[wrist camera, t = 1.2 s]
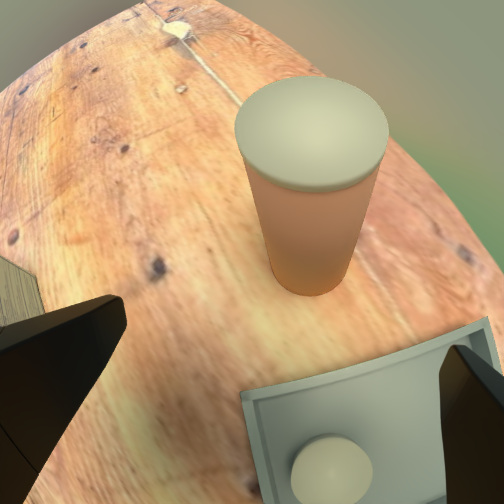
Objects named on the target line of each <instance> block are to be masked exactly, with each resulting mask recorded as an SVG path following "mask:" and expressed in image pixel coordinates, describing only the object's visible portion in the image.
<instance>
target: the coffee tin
mask: <svg viewBox="0 0 504 504" xmlns="http://www.w3.org/2000/svg"><path fill="white" fill-rule="evenodd" d="M235 136H236V140H237V144H238V147H239V150H240V153H241V155H242V157H243V160H244V164H245V168H246V172H247V175H248V179H249V183H250V187H251V190H252V194H253V198H254V202H255V205H256V209H257V213H258V217H259V221H260V224H261V228H262V232H263V236H264V240H265V244H266V247H267V251H268V255H269V259H270V263H271V267H272V270H273V273H274V275H275V277H276V279H277V280H278V281H279V283H280V284H281V285H282V286H283V287H285V288H286V289H287V290H289V291H291V292H293V293H295V294H298V295H302V296H317V295H322V294H325V293H327V292H329V291H331V290H332V289H334V288H335V287H336V286H337V285H338V284H339V283H340V282H341V281H342V279H343V278H344V276H345V274H346V271H347V268H348V266H349V263H350V260H351V257H352V254H353V251H354V248H355V245H356V242H357V239H358V236H359V233H360V230H361V227H362V224H363V221H364V218H365V214H366V211H367V208H368V205H369V201H370V198H371V195H372V191H373V188H374V184H375V181H376V177H377V174H378V170H379V167H380V163H381V161H382V159H383V156H384V153H385V150H386V146H387V142H388V137H389V128H388V123H387V120H386V117H385V115H384V113H383V111H382V110H381V108H380V107H379V106H378V104H377V103H376V102H375V101H374V100H373V99H372V98H371V97H370V96H369V95H367V94H366V93H365V92H363V91H362V90H360V89H358V88H357V87H355V86H352V85H350V84H348V83H345V82H343V81H339V80H336V79H332V78H327V77H319V76H299V77H291V78H286V79H282V80H279V81H276V82H273V83H271V84H268V85H266V86H264V87H262V88H261V89H259V90H258V91H256V92H255V93H253V94H252V95H251V96H250V97H249V98H248V99H247V100H246V101H245V102H244V103H243V105H242V106H241V108H240V109H239V111H238V114H237V116H236V120H235Z"/></svg>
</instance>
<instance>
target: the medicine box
mask: <svg viewBox="0 0 504 504" xmlns="http://www.w3.org/2000/svg"><path fill="white" fill-rule="evenodd" d="M42 314H45V313H44V309H43V306H42V302H41V298H40V295H39V291H38V287H37V283H36V277H35V275H33V274H32V273H30V272H28V271H26V270H25V269H23V268H21V267H20V266H18V265H16V264H14V263H13V262H11V261H10V260H8V259H6V258H5V257H3V256H2V255H0V327H2V326H7V325H9V324H12V323H16V322H19V321H22V320H25V319H29V318H32V317H35V316H39V315H42Z"/></svg>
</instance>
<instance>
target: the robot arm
mask: <svg viewBox="0 0 504 504" xmlns="http://www.w3.org/2000/svg"><path fill="white" fill-rule="evenodd" d="M126 326H127V318H126V313H125V308H124V302H123V300H122V298H121V297H119V296H115V295H111V294H108V295H105V296H101V297H98V298H95V299H91V300H88V301H85V302H81V303H78V304H75V305H72V306H68V307H65V308H62V309H58V310H55V311H52V312H48V313H45V314H42V315H39V316H35V317H32V318H29V319H25V320H22V321H19V322H16V323H12V324H9V325H7V326H2V327H0V504H23V502H24V501H25V499H26V497H27V495H28V493H29V492H30V490H31V488H32V486H33V484H34V483H35V481H36V479H37V477H38V476H39V474H38V473H40V472H41V470H42V468H43V467H44V465H45V463H46V461H47V460H48V458H49V456H50V455H51V453H52V451H53V450H54V448H55V446H56V445H57V443H58V441H59V440H60V438H61V436H62V435H63V433H64V431H65V430H66V428H67V427H68V425H69V423H70V422H71V420H72V418H73V417H74V415H75V414H76V412H77V410H78V409H79V407H80V406H81V404H82V403H83V401H84V399H85V398H86V396H87V395H88V393H89V392H90V390H91V389H92V387H93V386H94V384H95V382H96V381H97V379H98V378H99V376H100V375H101V373H102V372H103V370H104V368H105V367H106V365H107V363H108V361H109V359H110V357H111V356H112V354H113V352H114V350H115V348H116V346H117V344H118V342H119V340H120V339H121V337H122V335H123V333H124V331H125V329H126ZM439 392H440V420H441V433H442V442H443V452H444V463H445V478H446V503H447V504H504V376H503V375H502V374H500V373H499V372H498V371H497V370H496V369H494V368H493V367H492V366H491V365H489V364H488V363H487V362H486V361H485V360H483V359H482V358H481V357H480V356H478V355H477V354H476V353H475V352H474V351H472V350H471V349H470V348H469V347H467V346H466V345H459V344H453V345H451V346H450V347H449V349H448V351H447V354H446V356H445V358H444V361H443V363H442V365H441V367H440V370H439Z"/></svg>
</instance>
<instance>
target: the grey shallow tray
mask: <svg viewBox="0 0 504 504" xmlns="http://www.w3.org/2000/svg"><path fill="white" fill-rule="evenodd" d="M453 344H459V345H466V346H467V347H469V348H470V349H471V350H472V351H474V352H475V353H476V354H477V355H478V356H480V357H481V358H482V359H483V360H485V361H486V362H487V363H488V364H489V365H491V366H492V367H493V368H494V369H496V370H497V371H498V372H499V373H500V374H502V370H501V365H500V361H499V357H498V352H497V348H496V344H495V341H494V337H493V333H492V330H491V326H490V323H489V319H488V316H486V317H484V318H482V319H480V320H478V321H475V322H473V323H471V324H468V325H466V326H464V327H461V328H459V329H456V330H454V331H452V332H449V333H447V334H444V335H442V336H439V337H436V338H434V339H431V340H428V341H426V342H423V343H420V344H418V345H415V346H412V347H409V348H406V349H403V350H401V351H398V352H395V353H392V354H389V355H386V356H382V357H379V358H376V359H373V360H370V361H366V362H363V363H360V364H356V365H353V366H349V367H346V368H342V369H339V370H335V371H331V372H328V373H324V374H320V375H316V376H312V377H308V378H304V379H299V380H295V381H291V382H286V383H282V384H277V385H272V386H267V387H262V388H257V389H252V390H246V391H241V392H240V397H241V402H242V407H243V412H244V416H245V421H246V426H247V431H248V436H249V440H250V445H251V450H252V454H253V459H254V463H255V468H256V472H257V477H258V481H259V486H260V490H261V494H262V498H263V503H264V504H302V503H301V502H300V501H299V500H298V499H297V498H296V496H295V495H294V493H293V490H292V487H291V474H292V466H293V460H294V457H295V455H296V453H297V451H298V450H299V449H300V447H301V446H302V445H303V444H304V443H305V442H307V441H308V440H310V439H312V438H313V437H316V436H318V435H322V434H328V433H335V434H341V435H344V436H346V437H349V438H350V439H352V440H353V441H354V442H355V443H356V444H357V445H358V446H359V447H360V448H361V449H362V450H363V451H364V452H365V453H366V454H367V456H368V457H369V459H370V461H371V464H372V468H373V477H372V481H371V484H370V486H369V488H368V490H367V492H366V493H365V494H364V495H363V497H362V498H361V499H360V500H358V501H357V502H356V503H354V504H447V503H446V478H445V463H444V452H443V442H442V433H441V420H440V392H439V370H440V367H441V365H442V363H443V361H444V358H445V356H446V354H447V351H448V349H449V347H450V346H451V345H453ZM502 375H503V374H502Z"/></svg>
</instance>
